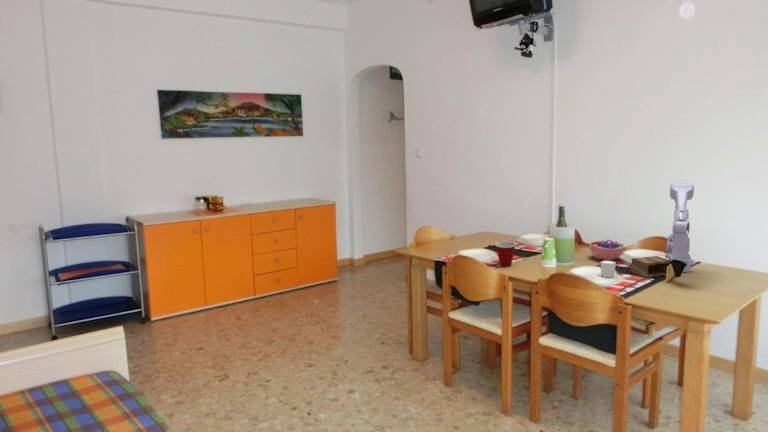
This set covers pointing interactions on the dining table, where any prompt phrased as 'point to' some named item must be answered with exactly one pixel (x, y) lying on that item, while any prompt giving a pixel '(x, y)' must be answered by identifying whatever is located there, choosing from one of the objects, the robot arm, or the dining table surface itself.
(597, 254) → the cell model
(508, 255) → the plastic cup
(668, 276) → the cabinet door
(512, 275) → the dining table surface
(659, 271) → the cabinet
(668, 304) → the dining table surface
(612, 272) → the white short cylinder
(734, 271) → the dining table surface
